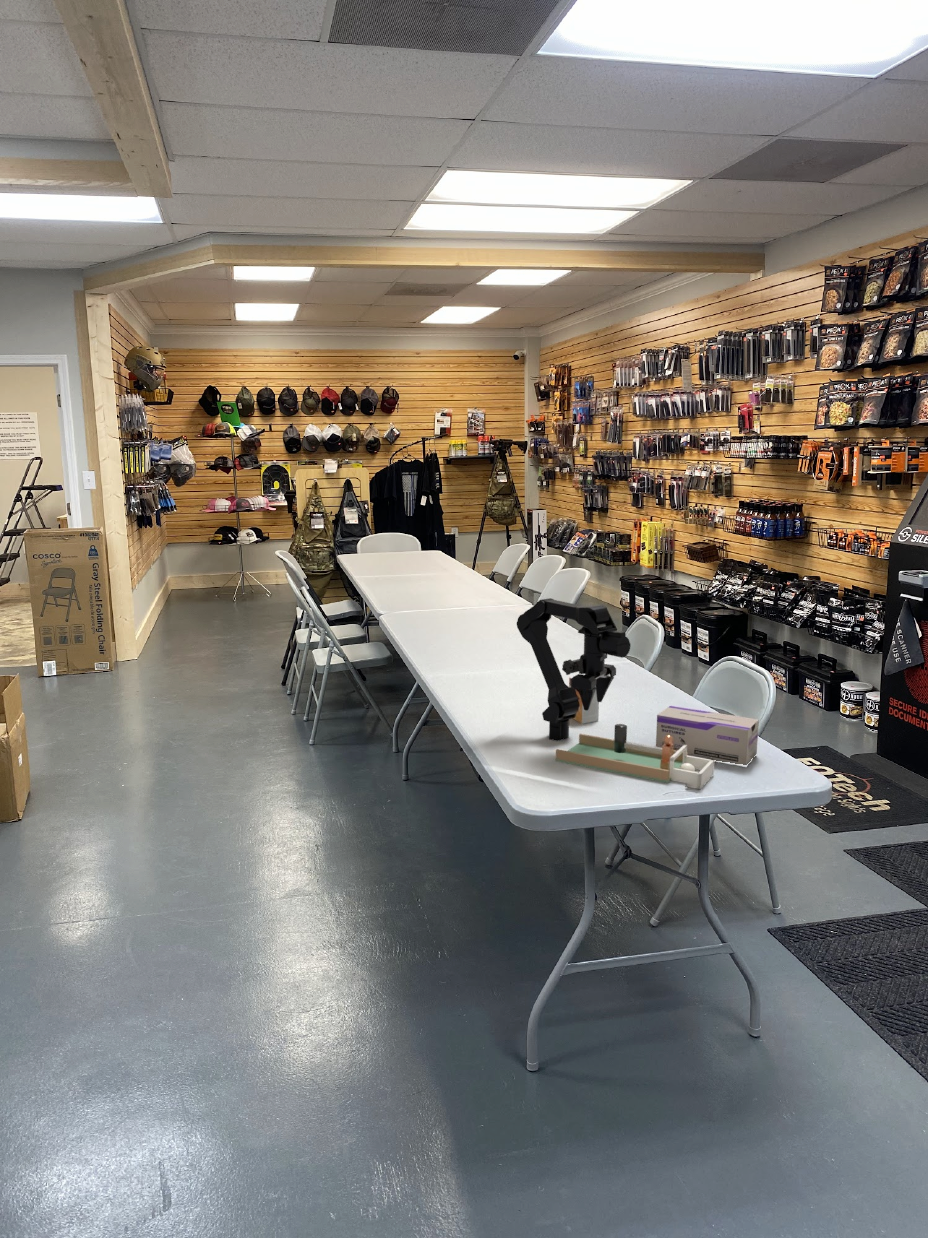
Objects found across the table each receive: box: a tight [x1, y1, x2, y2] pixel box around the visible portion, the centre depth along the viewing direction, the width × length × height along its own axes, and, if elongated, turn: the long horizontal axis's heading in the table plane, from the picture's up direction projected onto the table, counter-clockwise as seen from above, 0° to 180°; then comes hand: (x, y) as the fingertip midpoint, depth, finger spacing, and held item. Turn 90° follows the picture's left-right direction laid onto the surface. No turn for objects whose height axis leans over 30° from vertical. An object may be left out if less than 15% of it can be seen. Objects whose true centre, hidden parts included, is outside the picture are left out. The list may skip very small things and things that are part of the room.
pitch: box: [555, 733, 689, 784], centre depth 236 cm, size 16×31×4 cm, turn 59°
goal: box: [669, 745, 715, 790], centre depth 226 cm, size 12×8×7 cm
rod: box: [613, 723, 674, 770], centre depth 232 cm, size 5×16×9 cm, turn 59°
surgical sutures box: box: [655, 705, 760, 765], centre depth 245 cm, size 25×11×11 cm, turn 58°
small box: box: [568, 676, 600, 724], centre depth 276 cm, size 8×6×13 cm
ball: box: [679, 763, 696, 772], centre depth 227 cm, size 4×4×4 cm
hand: (592, 706), depth 246 cm, fingers open, 9 cm apart
